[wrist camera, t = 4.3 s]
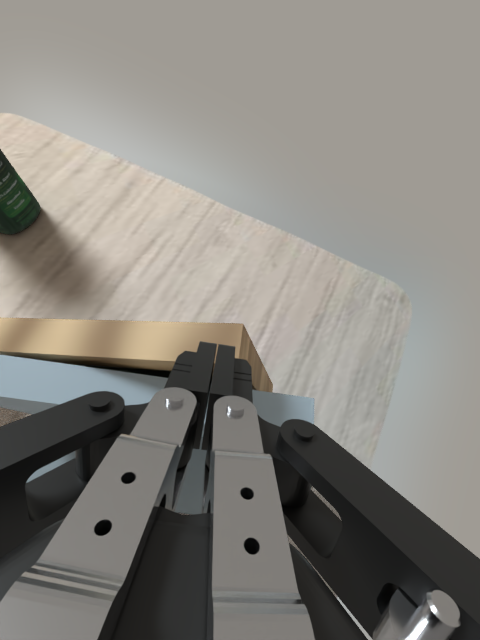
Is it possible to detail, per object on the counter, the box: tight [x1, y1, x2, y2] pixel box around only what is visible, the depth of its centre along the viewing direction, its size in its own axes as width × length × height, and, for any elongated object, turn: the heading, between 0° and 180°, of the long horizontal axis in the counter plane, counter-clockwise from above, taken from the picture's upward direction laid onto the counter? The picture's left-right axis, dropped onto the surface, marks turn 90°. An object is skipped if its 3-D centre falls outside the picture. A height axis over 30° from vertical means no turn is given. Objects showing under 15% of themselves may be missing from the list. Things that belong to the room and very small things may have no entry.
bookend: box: [0, 355, 314, 514], centre depth 27 cm, size 26×10×22 cm, turn 83°
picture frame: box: [0, 318, 273, 392], centre depth 26 cm, size 18×2×15 cm, turn 83°
